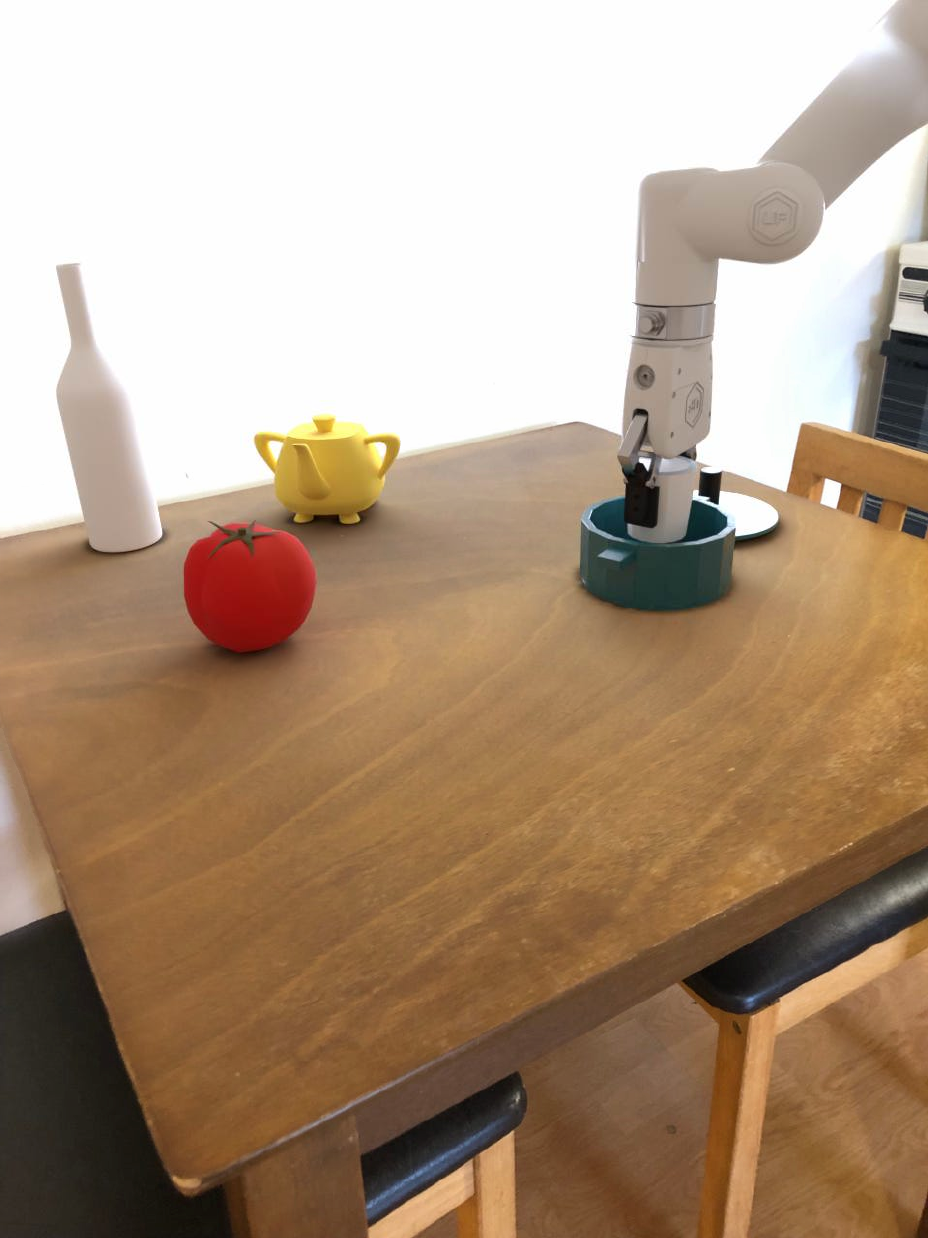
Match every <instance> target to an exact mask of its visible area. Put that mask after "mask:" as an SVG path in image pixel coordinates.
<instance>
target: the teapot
mask: <svg viewBox="0 0 928 1238" xmlns="http://www.w3.org/2000/svg"><path fill="white" fill-rule="evenodd" d="M270 442H277V443H282V445H281V448H280V450H279V454H278V457H277V458H276V457H275V455H274V453H273V451H272V449H271V447H270ZM253 443H254V446H255V449H256V451H257V453H258V455H259V456H260V458H261V459H262V460H263V462H264V463H265V464H266V465H267V467H268V468H269V469H270V470H271V472H272V473H273V474H274V476H273V477H274V479H273V480H274V481H273V488H274V494H275V497H276V499H277V500H278V501H279V503H280V504H281V505H282V506H283V507H284V508H285V509H286V510H288V511H289V512H293V513H296V514H295V516H294V518H293V521H294V522H295V523H308V522H312V521H313V520H314V517H315V516H318V515H319V516H331V515H332V516H333V515H338V518H339V522H340V523H342V524H347V525H348V524H349V525H351V524H355V523H358V522H360V520H361V518H360V516H359V514H358V513H359V512H363V511H365V510H367V509H369V508H370V507H371V506H373V505H374V503H376V502H377V499H378V498H379V496H380V495H381V493H382V491H383V490H384V488H385V483H386V474H387V472H388V471H389V470H390V469H391V467H392V465H393V464H394V462H395V461H396V459H397V457H398V455H399V452H400V450H401V438H400V437H399V435H397V434H395V433H392V432H383V433H375V434H369V432H368V431H367V430H366V428H365V426H363V425H362V424H361V423H359V422H354V421H353V422H351V421H336V415H334V414H331V413H322V414H317V415H314V416H313V417H312V422H306V423H301V424H298V425H296V426H294V427H293V428H292V429H290V430H289V431H288V433H287V434H284V433H280V432H275V431H266V430H262V431H259V432H257V433H256V434H255V435H254V437H253ZM375 443H376V444H377V443H382V444H384V445H385V453H384V457H383V460H382V458H381V454H380V451H378V449H377V447H376V444H375Z"/></svg>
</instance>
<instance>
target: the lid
mask: <svg viewBox="0 0 928 1238" xmlns="http://www.w3.org/2000/svg"><path fill="white" fill-rule="evenodd" d="M722 477H723V469H722V468H719V467H715V466H705V467H702V468H700V469H699V480H698V489H694V492H693V495H697V496H703V497H708V498H710V502H711V503H714V504H716V505H719V506H722V507H724V508H725V509H726V510H727V511H729V512H730V513H731V514H732V515H733V516H735V517H736V533H735V541H741V540H742V541H743V540H747V539H748V540H749V539H753V538H757V537H760V536H763V535H765V534H768V533H769V532H772V531H773V530H774V529H775V528H776V527H777V526H778V523H779V519H780V518H779V513H778V511H777V510H776V509H775V508H774V507H773V506H772V505H770V504H768V503H767V502H765V501H763V500H760V499H758V498H755V497H751V496H750V495H749V496H748V495H745V494H741V493H735V492H729V491H722V490H721V488H722Z"/></svg>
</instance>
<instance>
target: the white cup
mask: <svg viewBox="0 0 928 1238" xmlns="http://www.w3.org/2000/svg"><path fill="white" fill-rule="evenodd" d="M639 462H640V463H643V464H644V466H645V467H646V469H647V471H648V470H649V466H650V462H651V460H647V459H641V458H639ZM698 469H699V465H698V462H697V461H693V460H692V459H689V458H686V457H682V456H676V457H674V458H672V459H664V458H662V462H661V465H660V469H659V473H658V477H657V481H656V484H655V486H660V491H659V506H658V521H657V526H655V527H654V528H647V527H642V526H637V525H632V524H628V534H629V535H630V536H631V537H632V538H635V539H638V540H640V541H645V542H651V543H667V542H674V541H677V540H680V539H682V538H683V537H684V536H685V535H686V531H687V525H688V520H689V514H690V509H691V503H692V498H693V492H694V490H695V487H696V482H697V481H696V480H697V475H698Z"/></svg>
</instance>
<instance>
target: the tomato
mask: <svg viewBox="0 0 928 1238" xmlns="http://www.w3.org/2000/svg"><path fill="white" fill-rule="evenodd" d="M256 521H257V519H255V520H253V521H252V522H250V523H249V522H230V523H227V524H225V525H222V526H221V525H220V524H217V523H215V522H213V521H212V520H211V521H210V520H207V522H208V523H210V524H211V525H213V526H214V527H216V528H217V529H215V530H214V531H212V532H211V534H210V535H209V536H207V537H203V538H199V539H197V540H196V541H195V542H194V543H193V544H192V545H191V546H190V548H189V549H188V552H187V555H186V556H185V557H186V558H185V560H184V562H183V598H184V602H185V605H186V609H187V613H188V615H189V617H190V619H191V621H192V623H193V624H194V626H195V627H196V628H197V629H198V630H199V631H200V632H201V634H202V635H203V636H204V637H205V638H206V639H207V640H208V641H210V642H212V643H213V644H215V645H217V646H219V647H222V648H225V649H227V650H230V651H233V652H236V653H239V654H240V653H241V654H242V653H249V652H254V651H259V650H265V649H269V648H271V647H273V646H276V645H278V644H280V643H283V642H285V641H286V640H287V639H289V638H290V637H291V636H293V634H294V633H296V632H297V631H298V630H299V629H300V628H301V627H302V625H303V624H304V622H306V619H307V618H308V615H309V614H310V612H311V609H312V608H313V603H314V599H315V594H316V587H317V575H316V569H315V564H314V563H313V560H312V558H311V556H310V554H309V552H308V550H307V548H306V547H305V545H304V544H303V543H302V541H300V539H299V538H298V537H297V536H296V535H293V534H291V533H289V532H287V531H286V530H282V529H281V530H278V529H277V530H274V529H273V528H271V527H268V526H264V525H260V524H256Z"/></svg>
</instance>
